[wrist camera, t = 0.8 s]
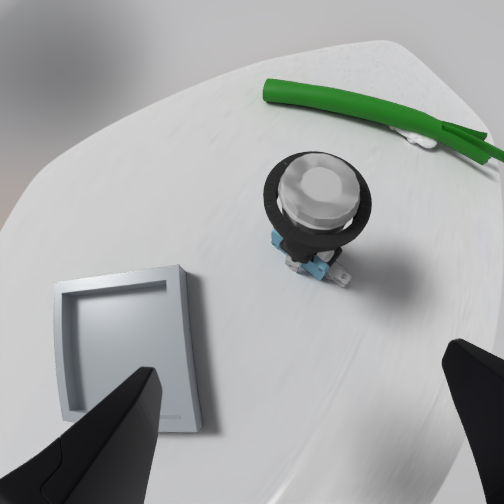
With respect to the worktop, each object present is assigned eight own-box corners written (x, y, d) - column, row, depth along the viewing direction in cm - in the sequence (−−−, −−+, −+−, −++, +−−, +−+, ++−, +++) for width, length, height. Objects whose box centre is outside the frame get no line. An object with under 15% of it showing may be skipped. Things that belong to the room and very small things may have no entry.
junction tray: (203, 426, 18) (197, 432, 17) (75, 417, 19) (63, 420, 17) (185, 271, 22) (178, 264, 21) (66, 287, 22) (54, 282, 21)
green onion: (263, 114, 28) (511, 188, 22) (260, 91, 25) (525, 173, 19) (274, 88, 30) (504, 156, 23) (272, 66, 27) (516, 141, 20)
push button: (362, 259, 22) (417, 197, 12) (322, 314, 20) (362, 284, 11) (296, 210, 23) (307, 124, 14) (252, 258, 22) (238, 190, 13)
